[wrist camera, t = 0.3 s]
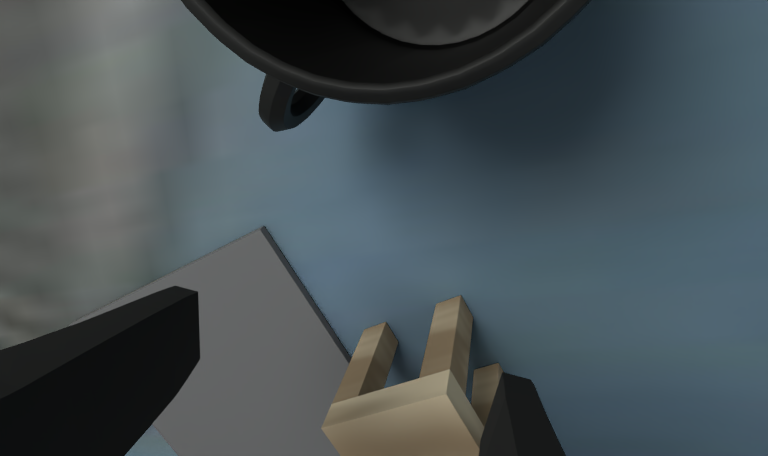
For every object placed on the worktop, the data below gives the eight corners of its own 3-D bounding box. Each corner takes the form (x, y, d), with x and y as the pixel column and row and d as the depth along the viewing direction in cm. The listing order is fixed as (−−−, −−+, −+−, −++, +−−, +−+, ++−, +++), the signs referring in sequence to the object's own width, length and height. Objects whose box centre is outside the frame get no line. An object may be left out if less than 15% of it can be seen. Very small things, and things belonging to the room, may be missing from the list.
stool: (509, 382, 22) (511, 502, 17) (414, 408, 24) (388, 523, 18) (460, 295, 21) (445, 393, 15) (364, 329, 22) (320, 428, 17)
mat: (411, 450, 25) (410, 457, 25) (219, 495, 30) (215, 501, 30) (264, 225, 21) (260, 229, 21) (75, 320, 27) (69, 324, 26)
